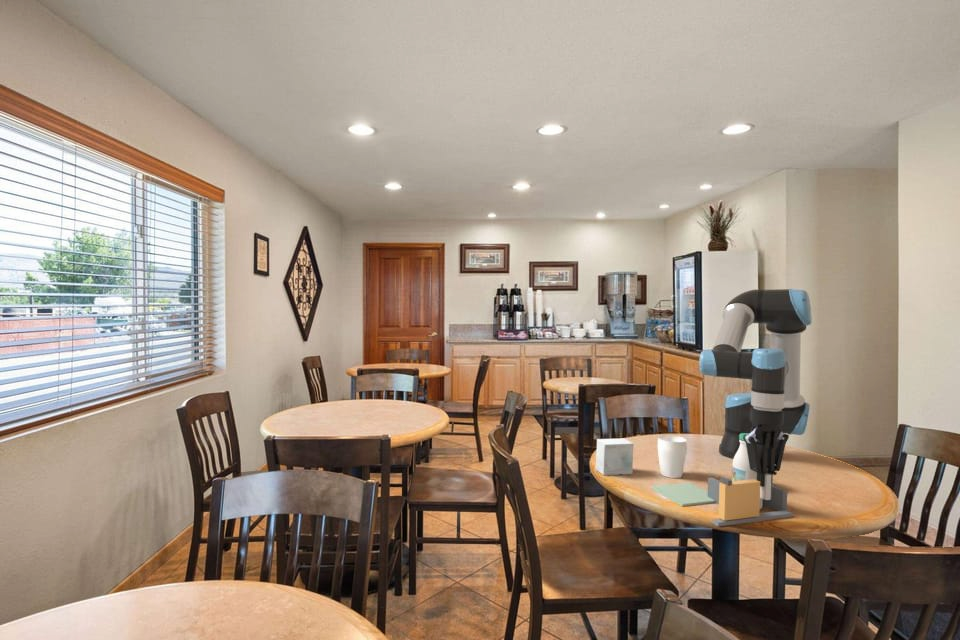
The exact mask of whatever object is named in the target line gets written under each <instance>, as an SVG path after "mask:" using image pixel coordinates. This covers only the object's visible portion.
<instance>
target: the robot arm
mask: <svg viewBox="0 0 960 640" xmlns="http://www.w3.org/2000/svg"><path fill="white" fill-rule="evenodd" d="M810 300H811V299H810V295H809V293H808V292H807V291H806V290H805V289H793V288H789V289H788V288H787V289H785V288H784V289H752V290H751V289H750V290H747V291H745V292H741V293H740V294H739V295H736V296H734V297H733V298H732V299H731V300H730V301H729V302H728V303H727V304H726V305H725V306H724V309H723V312H722V323H721V325H720V328H719V331H718V333H717V336H716V339H715V340H714V343H713V346H712V349H705V350H702V351H701V352H700V355H699V360H698V361H699V362H698V363H699V364H698V365H699V371H700V374H702V375H703V376H710V377H714V378H716V377H717V378H731V379H732V378H733V379H739V380H740V379H743V380H751V389H750V390H751V392H740V393H739V392H738V393H737V392H736V393H731V394H728V395H727V396H726V398H725V404H724V405H725V406H724V432H723V433H724V434H723V436H722V438H721V442H720V444H719V446H718V453H719V454H721V455H722V456H724V457H728V458H730V459H734V456H735V454H736V453H737V451H738V449H739V446H740V442H739V440H740V439H739V435H740V434H741V433H750V434H749V435H744V436H743V439H744V441H745V443H746V447H747V453H748V459H749V465H750V469H751V470H753V471H755V472H756V473H757V481H760V498H762V499H765V500H771V486H772V485H773V484H774V483H773V481H774V479H773V477H774V476H776V475H777V474H778V472H779V471H780V470H781V466H782V461H783V457H784V451H785V448H786V444H787V441H788V440H789V439H790V435H797V436H802V435H803V434H805V432H806V429H807V425H808V419H809V414H810V409H811V408H810V407H811V406H810V404H809V402H806V399H805V397H804V396H803V395H802V394H801V339H802V338H801V337H802V335H801V334H802V333H804V332H806V330H807V326H810V325H812V322H813V321H812V308H811V301H810ZM752 324H763V325H764V324H765V330H766V331H768V332H769V333H770V348H755V349H753V350H752V352H744V351H743V352H742V348H743V345H744V341H745V338H746V337H747V336H746V335H747V332H748V329H749V327H750V326H751V325H752Z"/></svg>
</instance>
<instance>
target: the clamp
mask: <svg viewBox="0 0 960 640" xmlns="http://www.w3.org/2000/svg"><path fill="white" fill-rule="evenodd" d="M720 483H721V482H720V479H717V478H715V477H708V478H707V491H708V497H709V498H711V499H713V500H715V504H716V505H719V484H720ZM763 504H764V505H763ZM763 504H762V505H763V506H766V507H769V509H773V510H775V511H767V512H759V516H757V517H749V518H741V519H733V520H726V521H724V520H722V519H720V518H719V517H718V518H712V521H711V523H712V524H713V525H714V526H717V527H724V526H725V527H726V526H733V525H741V524H747V523H755V522H756V523H757V522H763V521H769V520H770V521H771V520H778V519H786V518H793V517H794V516H793V514H794V513H793V512H791V511H789V510H788V509H787V508H788V490H786V489H784V488H782V487H779V486H777V485H774V484H772V486H771V500H765V499H763Z"/></svg>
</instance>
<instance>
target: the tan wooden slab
mask: <svg viewBox="0 0 960 640" xmlns="http://www.w3.org/2000/svg"><path fill="white" fill-rule="evenodd" d="M719 481H720V482H721V483H720V484H719V504H718V519H719V518H720V519H722V520H724V521H726V520H733V519H741V518H749V517H757V516H759V513H760V510H761V509H760V481H757V480H755V479H750V480H740V481H732V479H729V478H726V477H725V476H719ZM759 509H760V510H759Z"/></svg>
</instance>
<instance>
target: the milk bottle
mask: <svg viewBox="0 0 960 640" xmlns="http://www.w3.org/2000/svg"><path fill="white" fill-rule="evenodd" d="M749 434H750V433H741V434H740V435H739V439H740V440H739V442H740V446H739V449H738V451H737V453H736V454H735V456H734V458H732V459H733V460H732V467H731V480H732V481H740V480H750V479H755V480H757V473H756V472H755V471H753V470H751V469H750V465H749V459H748V453H747V447H746V443H745V441H744V439H743V436H744V435H749ZM762 508H763V499H762V498H760V509H759V511H760V510H761V509H762Z"/></svg>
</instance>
